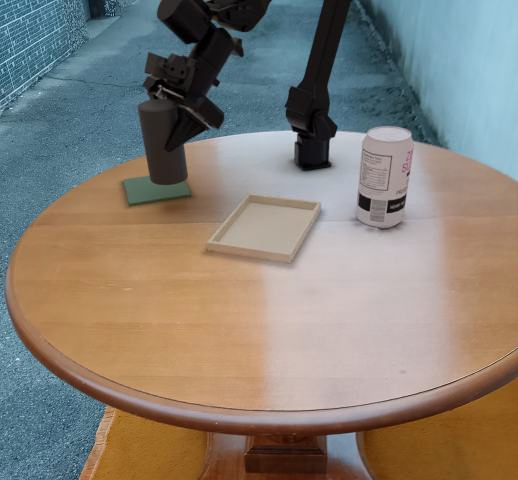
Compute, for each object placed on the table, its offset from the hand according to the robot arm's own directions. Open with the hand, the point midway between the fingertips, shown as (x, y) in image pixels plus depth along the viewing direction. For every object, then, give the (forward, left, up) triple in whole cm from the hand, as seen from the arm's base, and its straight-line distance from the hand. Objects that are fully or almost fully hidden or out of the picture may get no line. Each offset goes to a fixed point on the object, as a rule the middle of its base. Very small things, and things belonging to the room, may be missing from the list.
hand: (156, 145), depth 92 cm
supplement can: (-35, +16, -13) cm, 41 cm away
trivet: (+1, -11, -12) cm, 17 cm away
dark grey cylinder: (-1, 0, -6) cm, 6 cm away
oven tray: (-15, +14, -12) cm, 24 cm away
